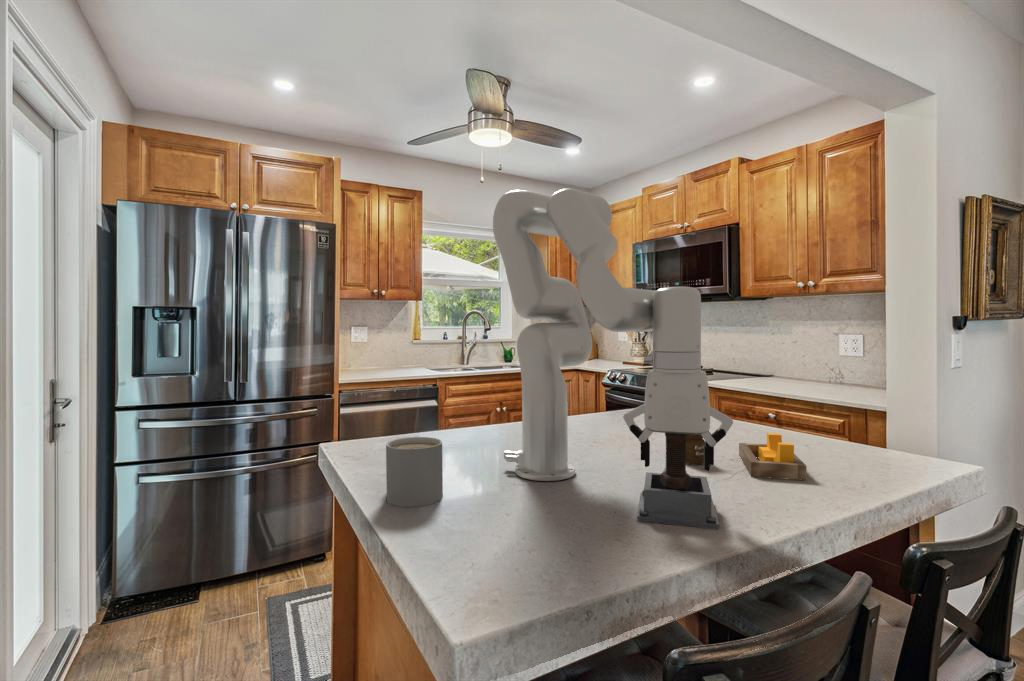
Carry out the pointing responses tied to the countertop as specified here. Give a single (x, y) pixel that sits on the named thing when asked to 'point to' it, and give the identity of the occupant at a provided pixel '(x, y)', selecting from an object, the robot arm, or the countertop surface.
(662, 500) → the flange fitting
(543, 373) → the robot arm
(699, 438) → the utensil holder
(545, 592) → the countertop surface
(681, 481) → the bolt
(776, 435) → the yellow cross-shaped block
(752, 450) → the parts corral
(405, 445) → the coffee mug
